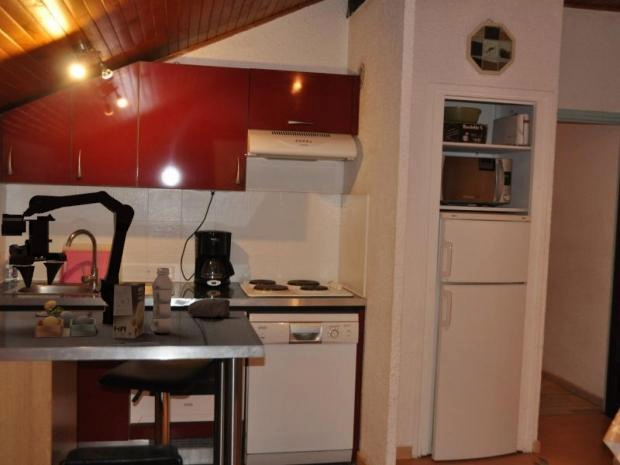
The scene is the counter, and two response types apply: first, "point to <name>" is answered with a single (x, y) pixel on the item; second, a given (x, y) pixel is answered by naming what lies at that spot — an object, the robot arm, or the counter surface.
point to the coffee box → (128, 309)
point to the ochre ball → (50, 321)
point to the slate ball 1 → (67, 318)
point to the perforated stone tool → (209, 308)
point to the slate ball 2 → (83, 320)
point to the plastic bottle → (162, 302)
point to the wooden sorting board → (65, 329)
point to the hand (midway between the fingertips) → (39, 286)
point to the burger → (51, 310)
